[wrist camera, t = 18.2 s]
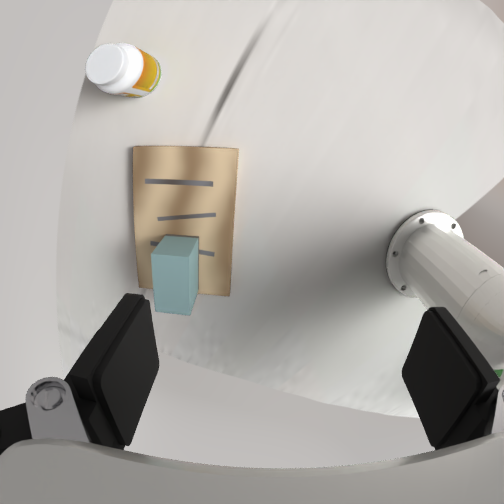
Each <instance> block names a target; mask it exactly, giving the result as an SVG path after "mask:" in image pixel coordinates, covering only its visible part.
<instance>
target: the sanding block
mask: <svg viewBox="0 0 504 504" xmlns="http://www.w3.org/2000/svg"><path fill="white" fill-rule="evenodd" d="M151 263H152V278H153V291H154V302H155V312H163V313H172V314H181V315H190V314H191V311H192V308H193V305H194V302H195V299H196V296H197V293H198V290H199V236H188V235H174V234H166V235H165V236H164V238H163V239H162V240H161V242H160V243H159V244H158V245H157V247H156V248H155V249H154V251H153V252H152V253H151Z"/></svg>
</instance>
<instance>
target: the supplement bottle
mask: <svg viewBox="0 0 504 504" xmlns="http://www.w3.org/2000/svg"><path fill="white" fill-rule="evenodd" d="M85 72H86V75H87V77H88V79H89V80H90V81H91V82H93V83H95V84H96V86H97V87H98V88H99V89H100V90H102V91H103V92H106V93H109V94H115V95H121V96H127V97H134V98H139V97H144V96H146V95H148V94H150V93H151V92H153V91H154V90H155V89H156V87H157V86H158V84H159V82H160V80H161V76H162V70H161V66H160V64H159V62H158V61H157V60H156V59H155V58H154V57H152V56H151V55H149V54H147V53H145V52H144V51H142V50H140V49H138V48H137V47H135V46H133V45H131V44H127V43H117V44H103V45H101V46H99V47H97V48H96V49H95V50H94V51H93V52H92V53H91V54H90V55H89V57H88V59H87V62H86V67H85Z"/></svg>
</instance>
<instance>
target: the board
mask: <svg viewBox="0 0 504 504" xmlns="http://www.w3.org/2000/svg"><path fill="white" fill-rule="evenodd" d="M238 155H239V149H235V148H217V147H192V146H135V147H133V205H134V228H135V245H136V259H137V271H138V281H139V287H140V288H149V289H153V278H152V263H151V253H152V252H153V251H154V249H155V248H156V247H157V245H158V244H159V243H160V242H161V240H162V239H163V238H164V236H165V235H166V234H174V235H188V236H199V290H198V293H197V294H208V295H220V296H229V295H230V283H231V264H232V247H233V230H234V214H235V198H236V183H237V169H238Z"/></svg>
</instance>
